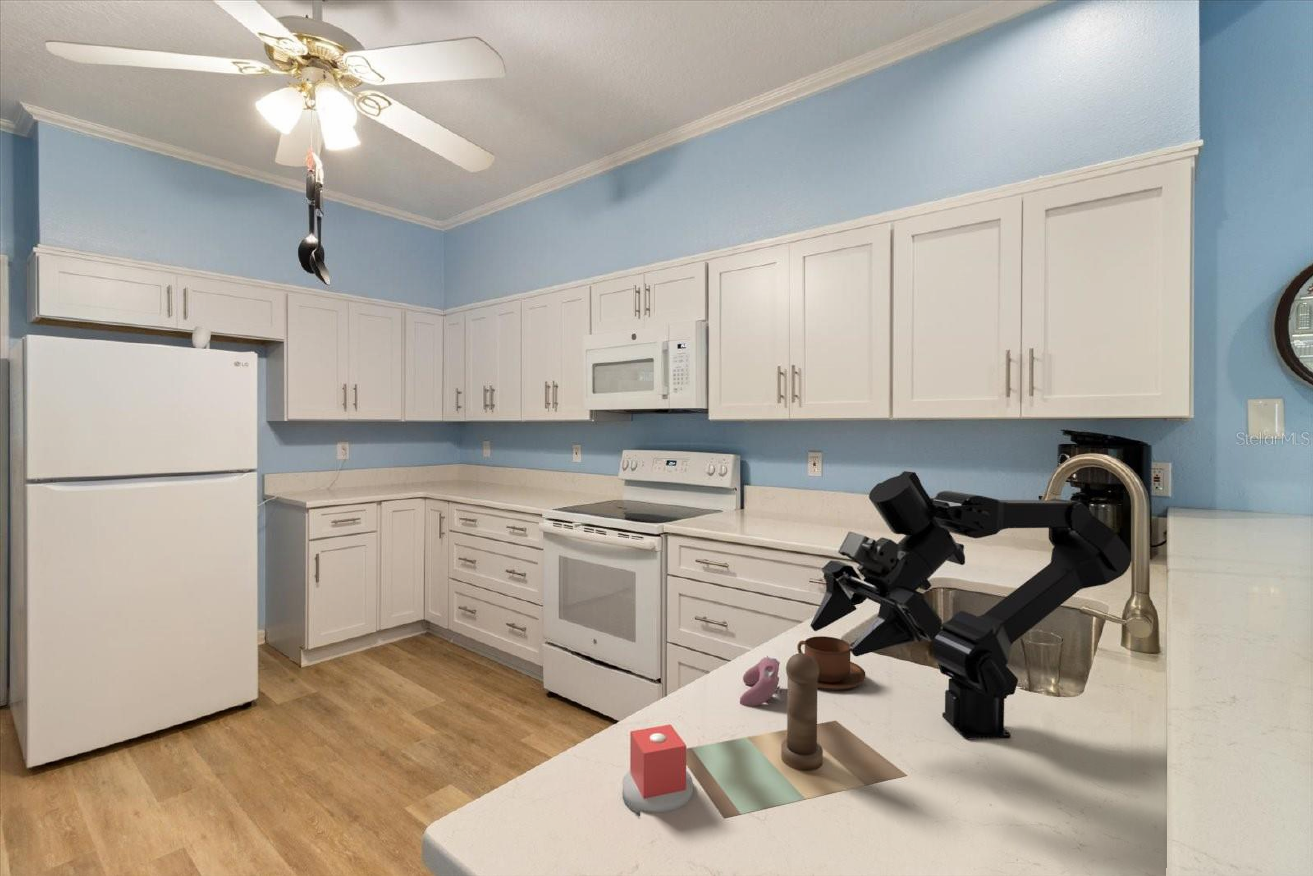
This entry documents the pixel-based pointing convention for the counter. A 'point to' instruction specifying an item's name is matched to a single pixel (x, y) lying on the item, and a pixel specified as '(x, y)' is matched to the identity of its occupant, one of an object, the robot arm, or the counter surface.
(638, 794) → the die stand
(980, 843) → the counter surface
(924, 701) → the counter surface
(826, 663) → the cup and saucer
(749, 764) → the game track
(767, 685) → the video game controller
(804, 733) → the pawn
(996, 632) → the robot arm
